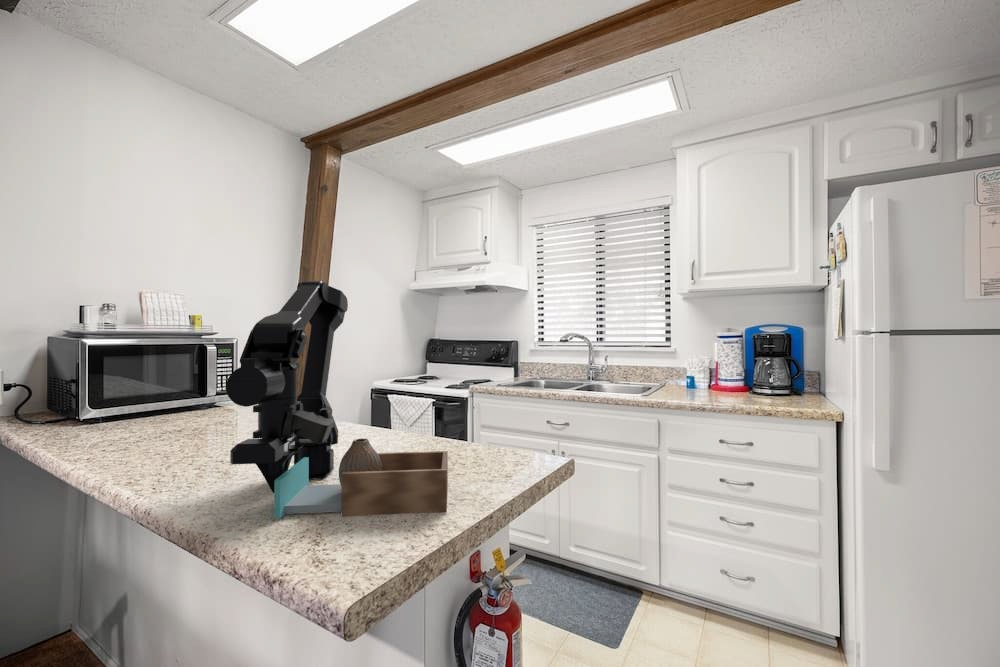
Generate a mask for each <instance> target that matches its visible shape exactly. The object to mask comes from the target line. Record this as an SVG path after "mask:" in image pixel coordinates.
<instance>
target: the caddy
mask: <svg viewBox="0 0 1000 667" xmlns="http://www.w3.org/2000/svg"><path fill="white" fill-rule="evenodd" d="M448 452H449V451H448V450H443V451H441V450H439V451H433V450H432V451H403V452H377V453H378V455H379V457H380V460H381V464H382V471H365V472H343V473H342V474H341V513H340V514H341V517H357V516H359V517H361V516H383V515H386V516H387V515H403V514H426V513H430V514H431V513H447V512H448V510H447V509H448V490H449V489H448V487H449V486H448V485H449V483H448V482H449V481H448V480H449V479H448V477H449V476H448V475H449V474H448V471H449V470H448V469H449V468H448V467H449V464H448V461H449V460H448Z"/></svg>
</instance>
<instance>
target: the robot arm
mask: <svg viewBox="0 0 1000 667" xmlns="http://www.w3.org/2000/svg"><path fill="white" fill-rule="evenodd" d="M348 305H349V302H348V298H347V296H346V295H345V294H344V292H343V291H342V290H340V289H339V288H338V289H337V288H335V287H333V286H330V285H328V283H327V282H324V281H322V280H302V281H300V282H298V283H297V287H296V290H295V291H294V292H293V293H292V295H291V296H290V298H289V299H288V300H287V301H286V302H285V304H284V305H283V306H282V308H280V310H279V311H278V312H275V313H273V314H270V315H267V316H265V317H263V318H262V319H261V318H260V320H259V321H257V322H256V323H255V324H254V326H253V327H252V329H251V330H250V333H249V335H248V338H247V340H246V343H245V345H244V348H243V351H242V353H241V355H240V358H239V363H240V367H238V368H236V369H234V371H232V372H231V374H229V377H228V378H227V381H226V383H225V391H226V394H227V398H228V399H230V401H231V402H233V403H234V404H236V405H237V406H240V407H246V408H247V407H252V413H257V430H255V431H253V432H252V438H247V439H245V440H243V441H241V442H238V443H236V445H234V447H232V448H231V450H230V451H229V452H230V455H229V457H230V458H229V459H230V461H229V463H230V465H252V464H253V465H256V466H257V468H258V470H259V471H260V473H261V474H262V476H263V478H264V479H265V481H266V483H267V485H268V486H269V489H270V491H271V492H272V494H274V490H275V480H276V479H277V478H278V477H280V476H281V475H282V474H283V473H285V472H286V471H287V470H289V469H290V464H291V461H292V458H293V466H294V465H295V464H296V463H298V462H299V461H300V460H301V459H303V458H304V457H309V480H323V479H326V478H327V477H328V476H329V475H330V474H331V473H332V471H333V470H334V468H335V467H334V464H335V462H334V459H335V458H334V455H335V453H334V452H335V451H334V449H333V448H332V446H333V445H337V444H339V429H338V426H337V423H336V422H335V419H334V416H333V408H332V406H331V404H330V402H329V400H328V399H327V388H328V381H329V374H330V366H331V357H332V350H333V343H334V342H333V341H334V336H335V332H336V330H337V329H338V328H339V327H341V325H342V324H343V322H344V319H345V316H346V315H345V313H346V312H347V311H348V309H349V306H348ZM308 323H309V324H310V331H309V339H308V338H307V337H308V336H307V334H306V331H305V327H307V325H308ZM307 341H308V344H307ZM306 345H307V351H306V356H305V358H306V359H305V363H304V369H303V376H302V384H301V390H300V393H299V394H298V368H300V366H301V365H300V363H299V361H298V359H300V358H301V356H302V353H303V350H304V348H305V346H306Z"/></svg>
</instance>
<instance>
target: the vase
mask: <svg viewBox="0 0 1000 667" xmlns="http://www.w3.org/2000/svg"><path fill="white" fill-rule="evenodd" d="M378 453H379V452H377V451H376V449H375V448H374V447H373V446H372V445H371V443H370V440H369V439H368V438H355V439H354V440H353V441H352V443H351V445H350V447H349V448H348V449H347V451H346V452H345V453H344V455H343V456H342V458H341V459H340V464H339V467H338V480H339V484H341V474H342V473H343V472H365V471H382V464H381V460H380V457H379V455H378Z"/></svg>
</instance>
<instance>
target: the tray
mask: <svg viewBox="0 0 1000 667" xmlns="http://www.w3.org/2000/svg"><path fill="white" fill-rule="evenodd" d="M309 481H310V479H309V457H304V458H303V459H301V460H300V461H299V462H298V463H296V464H295V465H294V464H293V466H291V467H289V468H288V470H287V471H286V472H285V473H283V474H282V475H281V476H280V477H278V478H277V479H276V480H275V490H274V493H273V494H274V500H273V501H274V502H273V503H274V505H273V506H274V507H273V508H274V509H273V510H274V513H273V514H274V516H273V517H274V518H273V519H278V520H279V519H281V518H282V517H283V516H284V515H288V514H289V515H292V514H315V513H317V514H318V513H335V512H336V513H337V512H338V513H339V512H341V484H340V483H338V484H335V483H334V484H317V485H316V484H313V485H311V484H310V485H309Z"/></svg>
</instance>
